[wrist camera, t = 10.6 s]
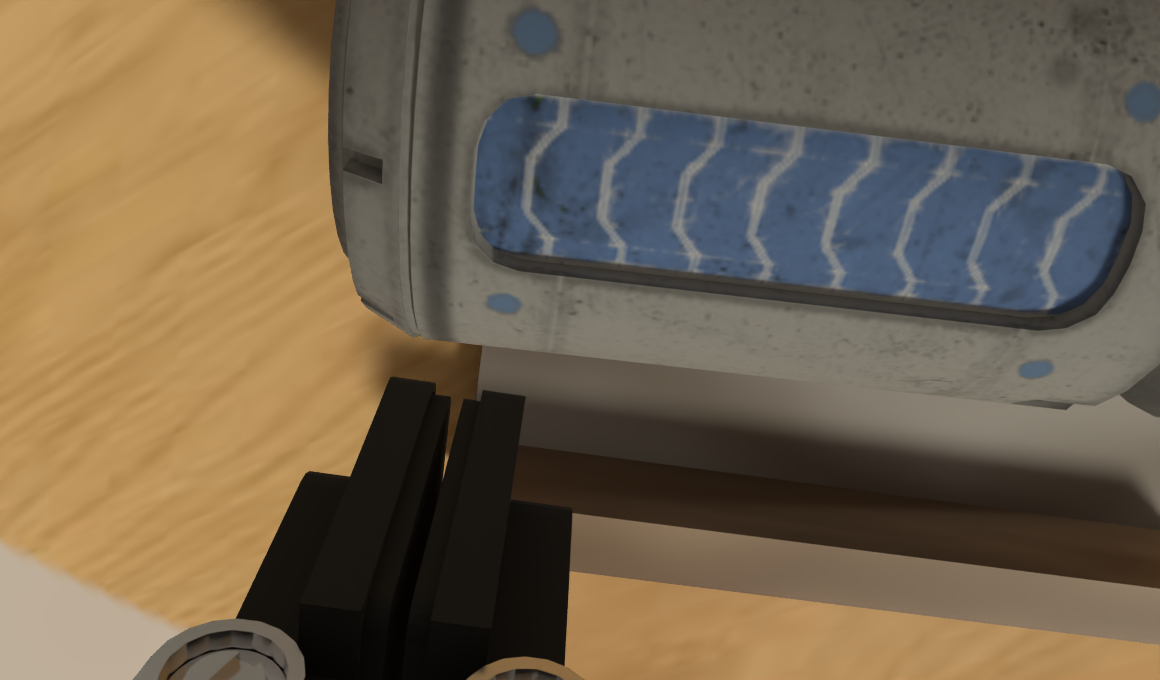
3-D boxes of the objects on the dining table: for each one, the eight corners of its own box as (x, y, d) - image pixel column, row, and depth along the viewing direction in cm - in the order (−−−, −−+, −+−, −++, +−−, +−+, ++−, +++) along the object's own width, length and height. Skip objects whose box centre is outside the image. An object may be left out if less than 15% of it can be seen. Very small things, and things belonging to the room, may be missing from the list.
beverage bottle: (426, -358, 20) (1585, -190, 21) (407, 233, 27) (1286, 335, 28) (292, -451, 11) (2282, -155, 12) (314, 463, 18) (1601, 598, 19)
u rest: (562, -307, 22) (557, -338, 18) (1492, -139, 23) (1659, -137, 19) (468, 474, 31) (452, 556, 27) (1130, 560, 32) (1198, 649, 29)
